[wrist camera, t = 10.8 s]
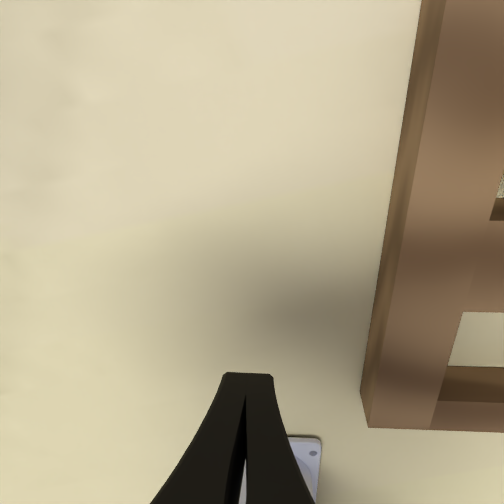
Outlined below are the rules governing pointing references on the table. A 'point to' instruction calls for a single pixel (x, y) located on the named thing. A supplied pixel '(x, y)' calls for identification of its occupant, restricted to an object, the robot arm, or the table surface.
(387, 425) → the frame
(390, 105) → the table surface
